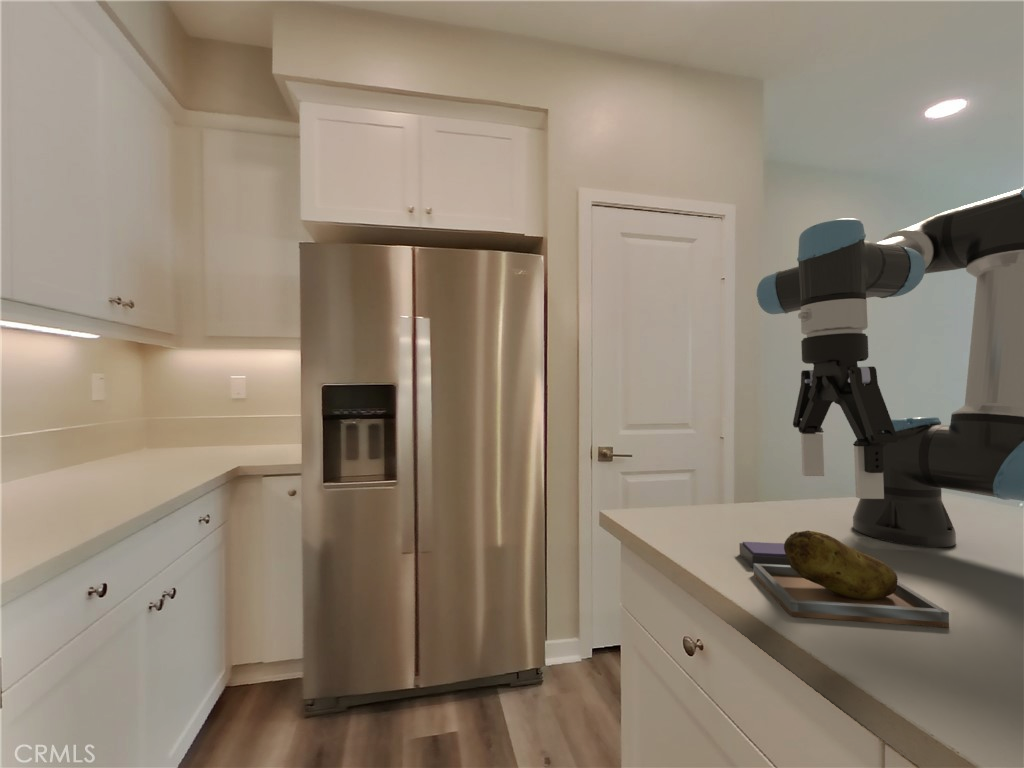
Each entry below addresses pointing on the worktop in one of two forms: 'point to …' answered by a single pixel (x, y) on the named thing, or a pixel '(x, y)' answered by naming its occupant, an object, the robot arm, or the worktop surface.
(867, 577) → the potato
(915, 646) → the worktop surface
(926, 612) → the metal baking tray
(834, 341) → the robot arm
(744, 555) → the ink pad
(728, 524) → the worktop surface
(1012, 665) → the worktop surface
